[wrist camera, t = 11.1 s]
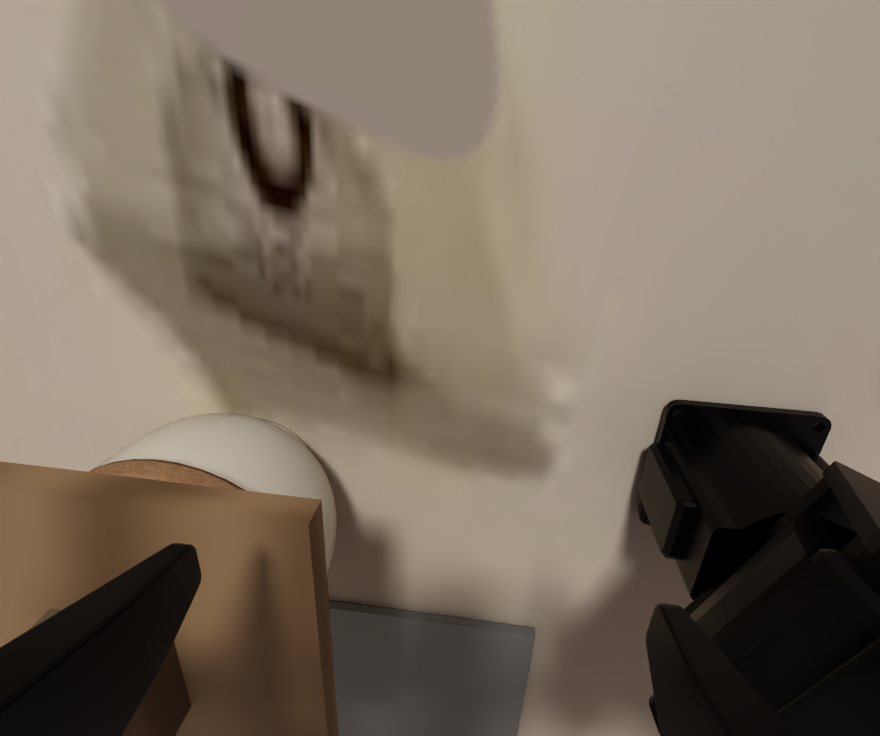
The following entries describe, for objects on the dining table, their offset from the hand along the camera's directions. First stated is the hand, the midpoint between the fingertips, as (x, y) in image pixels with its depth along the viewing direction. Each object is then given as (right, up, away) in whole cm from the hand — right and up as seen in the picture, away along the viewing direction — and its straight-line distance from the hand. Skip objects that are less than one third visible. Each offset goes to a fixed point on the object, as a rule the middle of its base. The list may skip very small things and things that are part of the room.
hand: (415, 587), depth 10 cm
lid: (-10, -5, +8) cm, 13 cm away
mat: (-4, -16, +22) cm, 28 cm away
